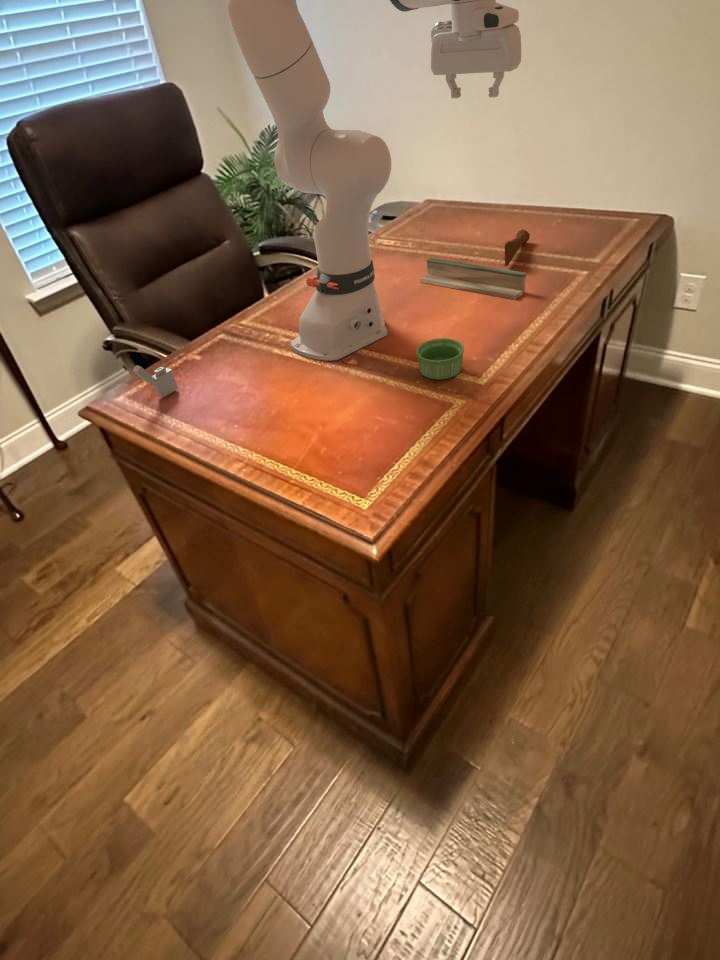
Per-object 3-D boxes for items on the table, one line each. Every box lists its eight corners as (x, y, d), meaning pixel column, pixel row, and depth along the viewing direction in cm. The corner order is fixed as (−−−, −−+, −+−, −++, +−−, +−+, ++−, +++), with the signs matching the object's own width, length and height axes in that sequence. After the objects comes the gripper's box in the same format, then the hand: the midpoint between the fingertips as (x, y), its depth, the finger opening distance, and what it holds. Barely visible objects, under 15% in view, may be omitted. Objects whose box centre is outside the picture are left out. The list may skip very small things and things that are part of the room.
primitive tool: (504, 267, 145) (518, 266, 143) (504, 244, 141) (518, 243, 140) (516, 243, 158) (529, 242, 157) (516, 222, 155) (529, 221, 154)
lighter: (173, 386, 120) (160, 351, 115) (178, 388, 119) (165, 352, 114) (145, 403, 116) (130, 367, 111) (151, 405, 115) (136, 369, 110)
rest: (515, 299, 132) (516, 280, 129) (420, 282, 146) (419, 264, 143) (525, 292, 134) (526, 272, 131) (431, 275, 148) (430, 257, 145)
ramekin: (461, 356, 116) (461, 335, 113) (466, 379, 109) (466, 358, 106) (416, 360, 116) (415, 340, 114) (418, 383, 110) (417, 363, 107)
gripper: (422, 25, 123) (427, 101, 132) (510, 15, 112) (509, 99, 121) (439, 20, 126) (442, 95, 136) (526, 10, 115) (523, 92, 124)
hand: (474, 97), depth 128 cm, fingers open, 8 cm apart
